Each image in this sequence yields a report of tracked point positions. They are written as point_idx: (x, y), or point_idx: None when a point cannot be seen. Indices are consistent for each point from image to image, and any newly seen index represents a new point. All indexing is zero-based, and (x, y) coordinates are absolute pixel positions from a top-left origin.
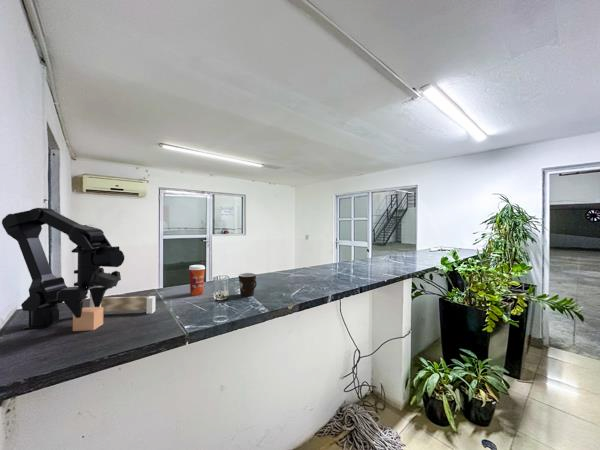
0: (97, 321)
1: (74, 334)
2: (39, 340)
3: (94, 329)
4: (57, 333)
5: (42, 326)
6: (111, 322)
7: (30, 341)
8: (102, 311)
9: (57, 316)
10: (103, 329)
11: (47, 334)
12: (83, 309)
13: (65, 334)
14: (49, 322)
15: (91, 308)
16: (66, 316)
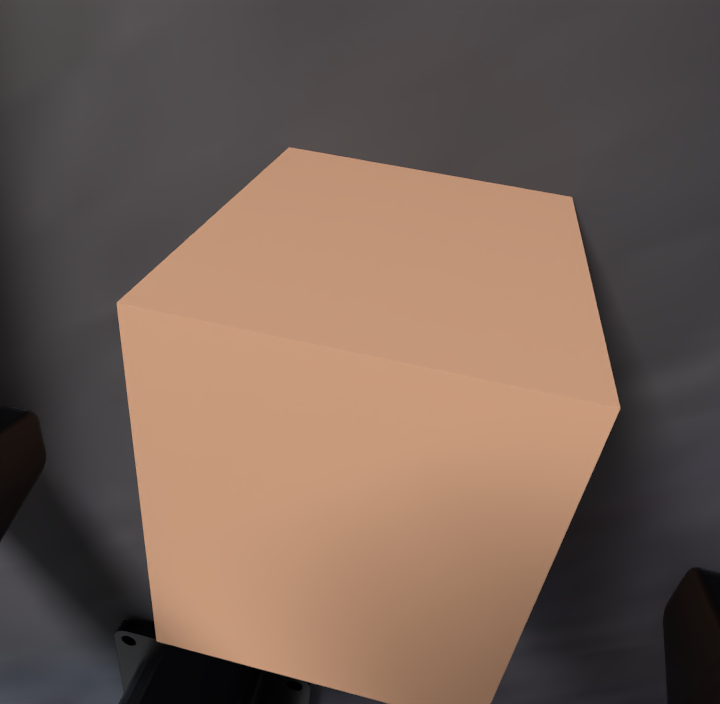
0: (455, 220)
1: (650, 404)
2: None
3: (547, 194)
4: None
5: (301, 701)
6: (243, 7)
7: (650, 692)
8: (218, 253)
9: (165, 700)
10: (623, 11)
11: None
12: (282, 630)
13: (588, 495)
14: (253, 695)
15: (237, 525)
16: (15, 604)
